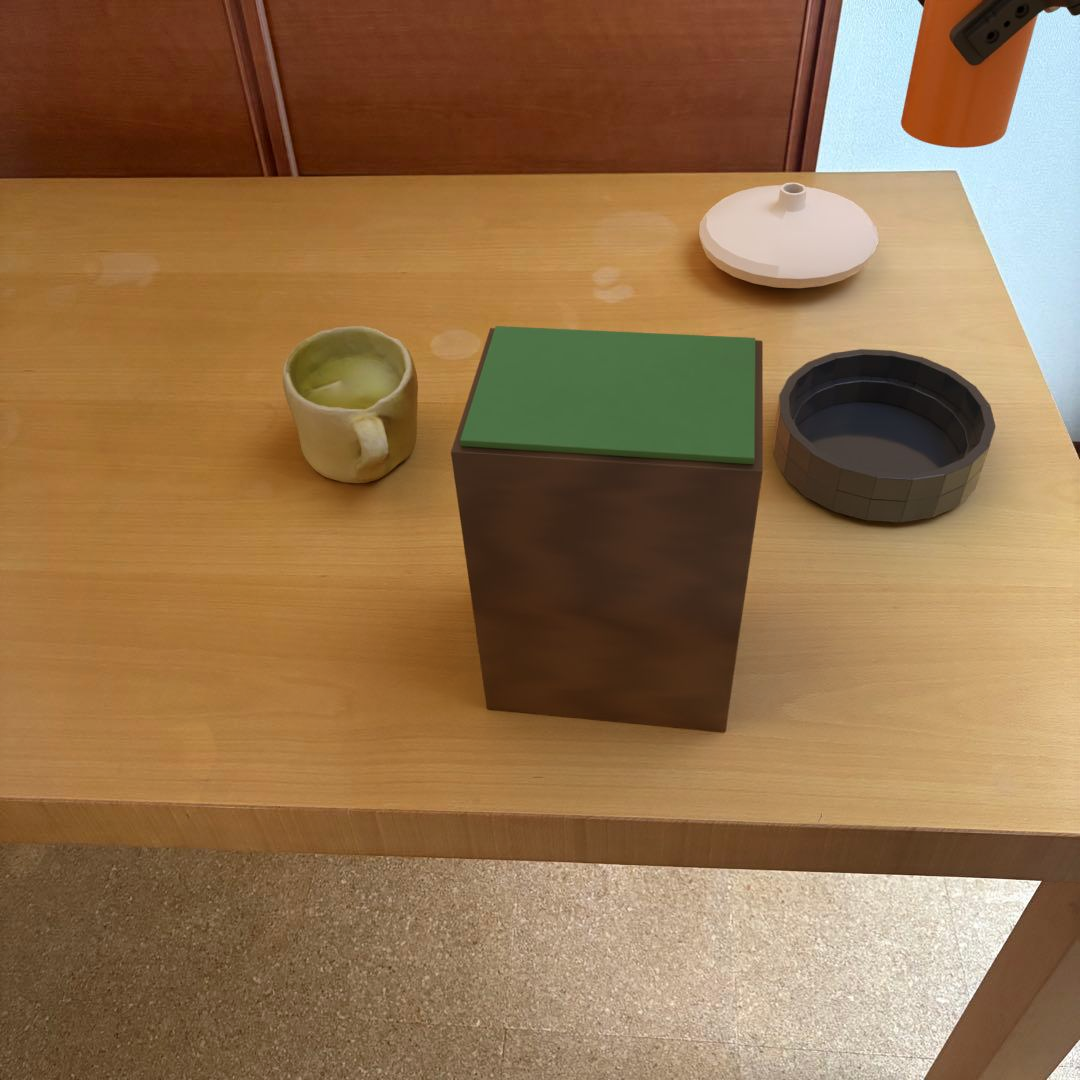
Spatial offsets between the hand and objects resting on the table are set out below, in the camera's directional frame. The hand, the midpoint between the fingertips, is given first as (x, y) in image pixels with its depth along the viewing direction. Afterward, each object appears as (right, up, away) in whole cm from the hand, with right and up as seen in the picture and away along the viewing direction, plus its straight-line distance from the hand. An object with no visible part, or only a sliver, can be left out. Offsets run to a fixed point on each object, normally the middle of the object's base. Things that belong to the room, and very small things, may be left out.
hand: (942, 28), depth 54 cm
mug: (-34, -21, +24) cm, 46 cm away
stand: (-17, -34, +10) cm, 39 cm away
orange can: (+2, -4, +4) cm, 6 cm away
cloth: (-17, -20, -4) cm, 27 cm away
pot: (+3, -21, +21) cm, 30 cm away
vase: (+1, -1, +41) cm, 41 cm away
